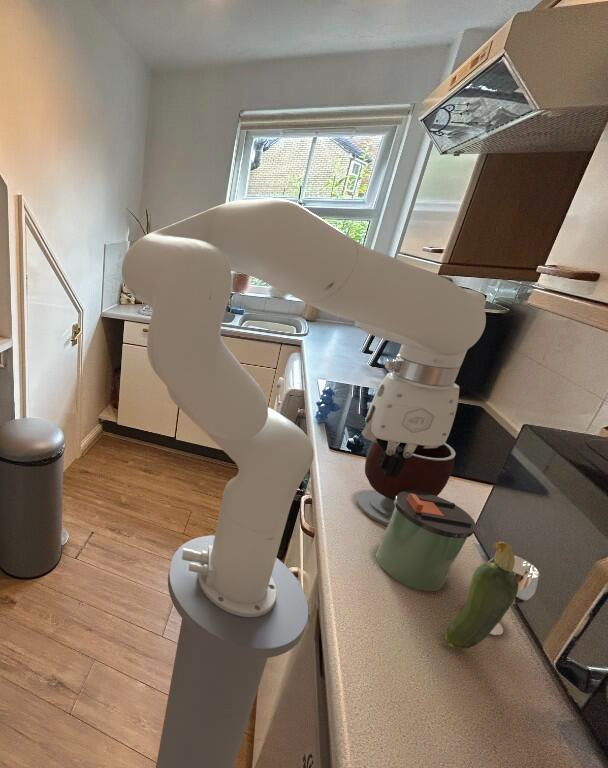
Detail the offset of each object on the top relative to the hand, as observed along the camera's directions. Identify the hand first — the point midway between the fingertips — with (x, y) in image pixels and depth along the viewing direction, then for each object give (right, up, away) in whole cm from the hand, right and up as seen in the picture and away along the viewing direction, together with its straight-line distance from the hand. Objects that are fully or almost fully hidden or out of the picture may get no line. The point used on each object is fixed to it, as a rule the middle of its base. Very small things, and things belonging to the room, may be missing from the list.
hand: (387, 472), depth 68 cm
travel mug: (+8, -19, +5) cm, 21 cm away
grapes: (+22, +3, +58) cm, 62 cm away
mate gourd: (+15, -13, +21) cm, 29 cm away
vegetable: (+4, -24, -9) cm, 26 cm away
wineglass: (+12, -23, -4) cm, 26 cm away
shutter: (+7, -6, +1) cm, 9 cm away
